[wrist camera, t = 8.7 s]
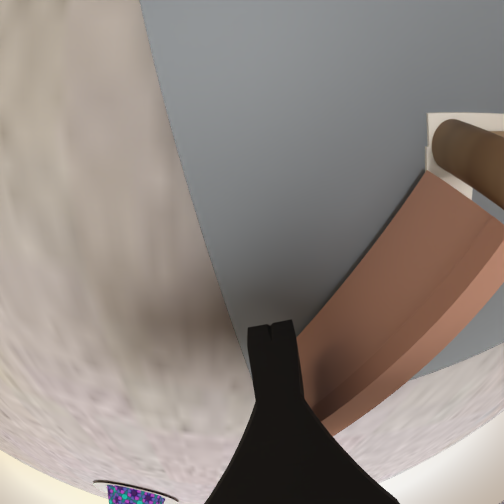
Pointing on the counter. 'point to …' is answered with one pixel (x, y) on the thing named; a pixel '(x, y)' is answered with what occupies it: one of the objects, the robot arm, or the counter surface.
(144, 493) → the pudding
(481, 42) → the card
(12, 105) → the counter surface
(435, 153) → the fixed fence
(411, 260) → the swing panel
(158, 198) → the counter surface
